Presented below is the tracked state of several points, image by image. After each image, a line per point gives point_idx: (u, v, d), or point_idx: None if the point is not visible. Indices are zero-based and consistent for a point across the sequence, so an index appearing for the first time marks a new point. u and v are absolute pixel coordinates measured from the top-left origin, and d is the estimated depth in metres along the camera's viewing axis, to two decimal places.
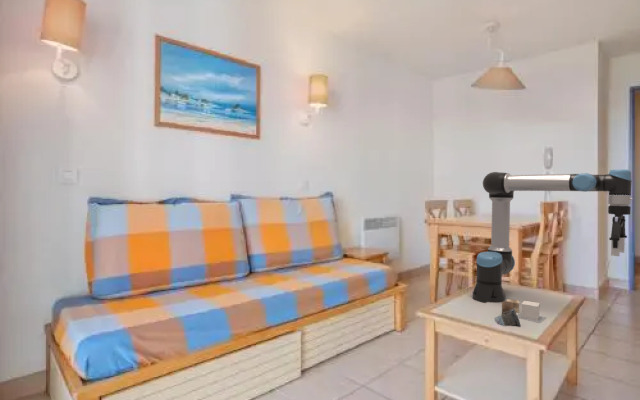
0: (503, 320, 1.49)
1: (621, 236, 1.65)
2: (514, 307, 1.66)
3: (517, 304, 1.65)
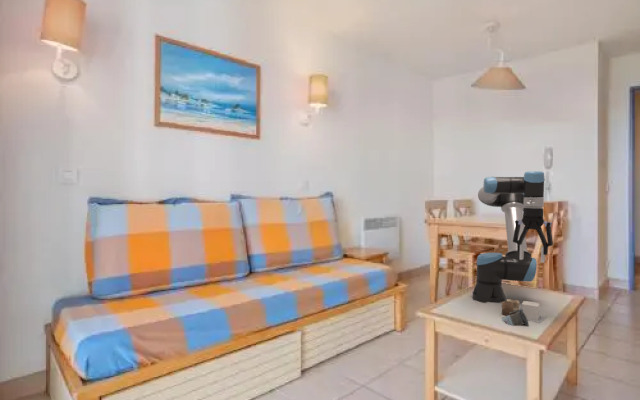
0: (511, 320, 1.50)
1: None
2: (514, 307, 1.66)
3: (517, 304, 1.65)
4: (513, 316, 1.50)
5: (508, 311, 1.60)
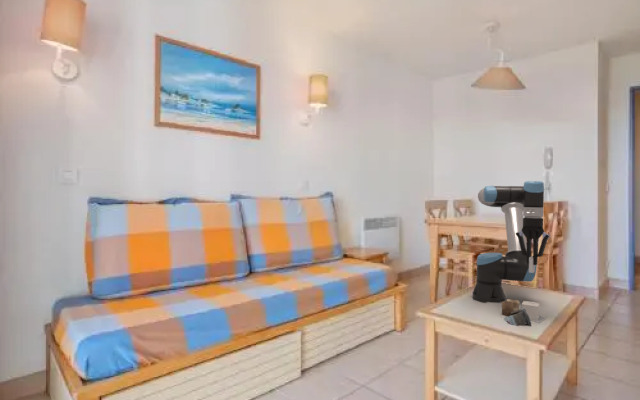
0: (514, 320, 1.50)
1: None
2: (514, 307, 1.66)
3: (517, 304, 1.65)
4: (516, 316, 1.50)
5: (508, 311, 1.60)
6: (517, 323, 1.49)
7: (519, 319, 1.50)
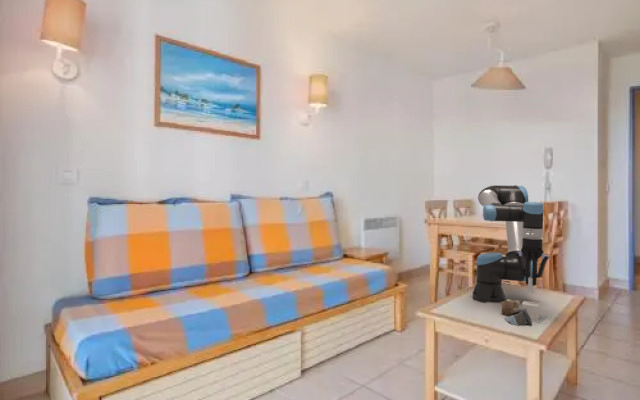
0: (516, 320, 1.49)
1: None
2: (514, 307, 1.66)
3: (517, 304, 1.65)
4: (517, 316, 1.50)
5: (508, 311, 1.60)
6: (518, 323, 1.49)
7: (520, 319, 1.50)
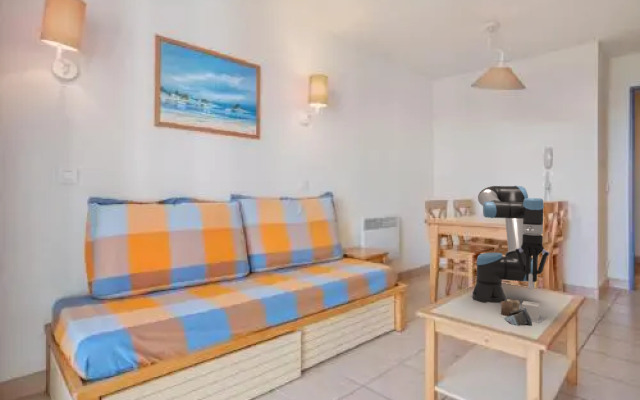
0: (516, 320, 1.50)
1: None
2: (514, 307, 1.66)
3: (517, 304, 1.65)
4: (517, 316, 1.50)
5: (507, 311, 1.61)
6: (518, 323, 1.49)
7: (520, 319, 1.50)
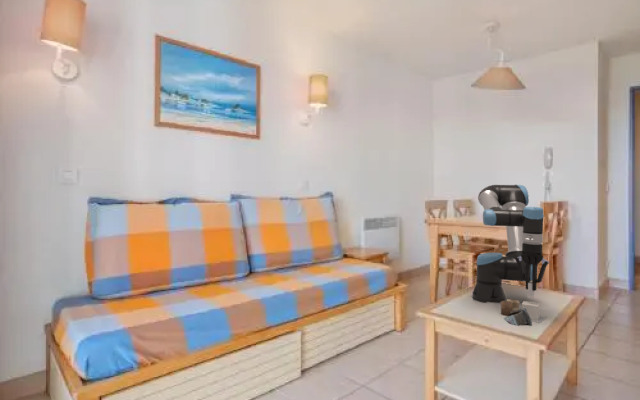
0: (516, 320, 1.50)
1: None
2: (514, 307, 1.66)
3: (517, 304, 1.65)
4: (517, 316, 1.50)
5: (507, 311, 1.61)
6: (518, 323, 1.49)
7: (520, 319, 1.50)
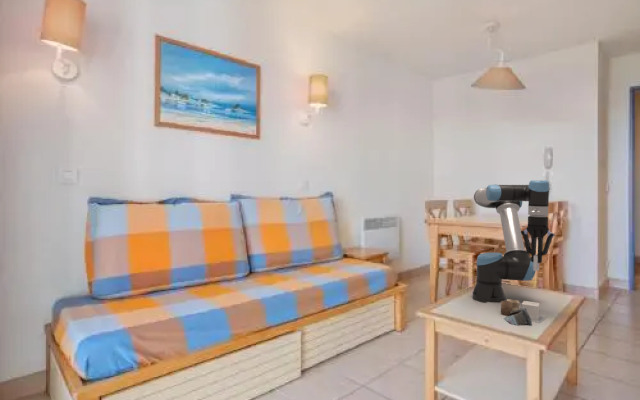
0: (516, 320, 1.50)
1: None
2: (514, 307, 1.66)
3: (517, 304, 1.65)
4: (517, 316, 1.50)
5: (507, 311, 1.61)
6: (518, 323, 1.50)
7: (520, 319, 1.50)
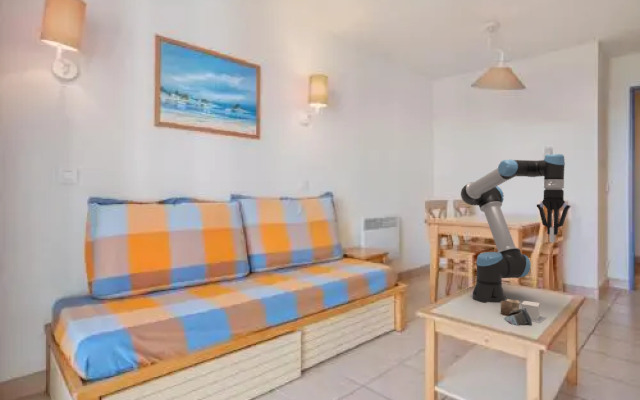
0: (516, 320, 1.50)
1: (554, 226, 1.64)
2: (514, 307, 1.66)
3: (517, 304, 1.65)
4: (517, 316, 1.50)
5: (507, 311, 1.61)
6: (518, 323, 1.50)
7: (520, 319, 1.50)
